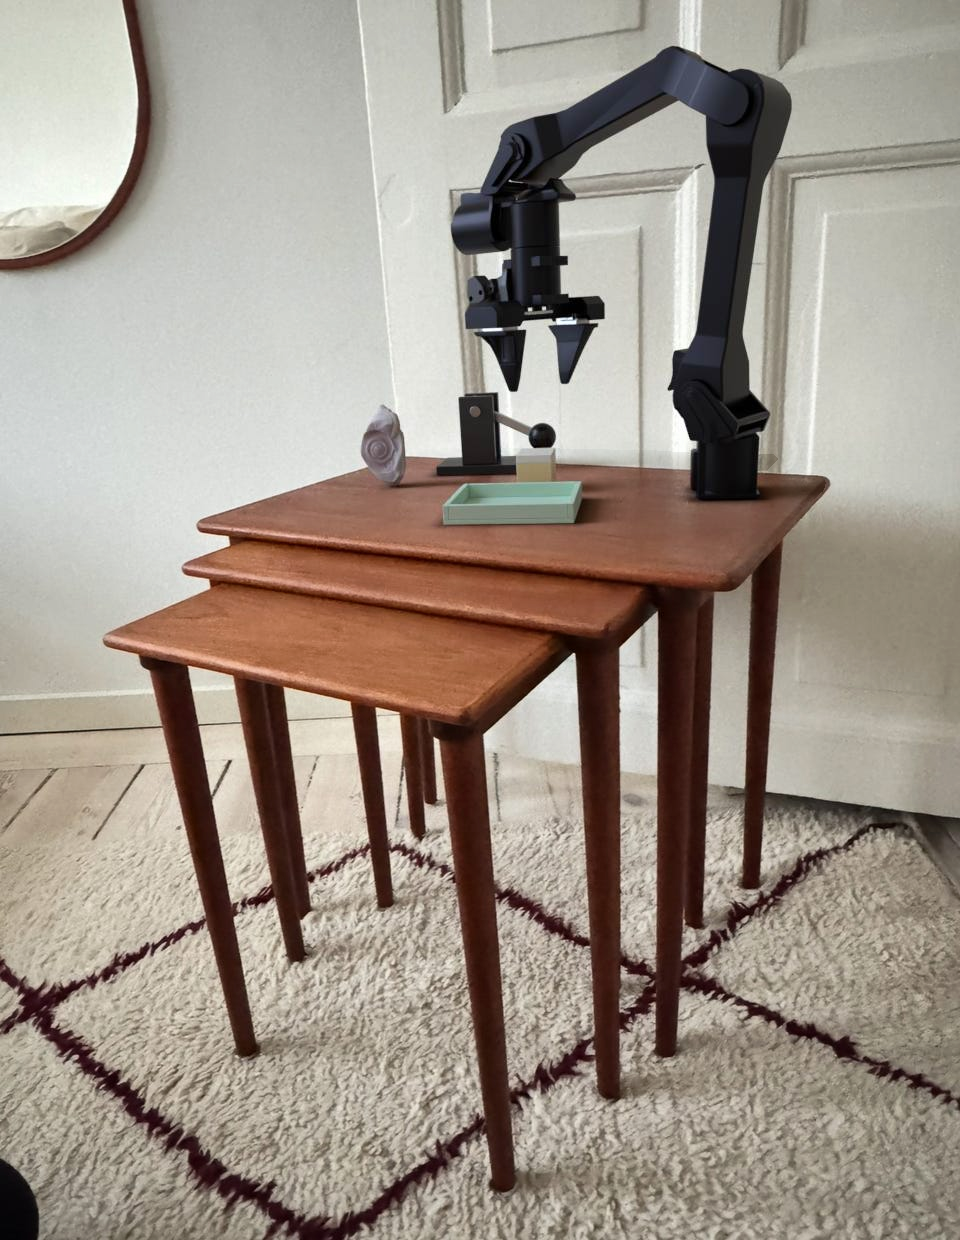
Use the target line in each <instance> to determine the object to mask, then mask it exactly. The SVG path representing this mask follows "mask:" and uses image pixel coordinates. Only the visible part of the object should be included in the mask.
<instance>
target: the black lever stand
mask: <svg viewBox="0 0 960 1240" xmlns="http://www.w3.org/2000/svg"><path fill="white" fill-rule="evenodd" d="M474 395H476V396H474ZM499 399H500V397H499V392H498V391H493V392H468V393H467V392H466V393H464V395H463V396H458V399H457V401H458V413H459V414H458V415H459V431H460V432H459V433H460V445H461V446H460V447H461V448H460V449H461V456H458V457H457V456H455V457H447V458H445V459H444V460H443V461H442V462H441V463H439V464H438V465H436V468H435V469H436V476H437V477H442V476H443V477H444V476H487V475H517V468H516V464H517V463H516V455H502V442H501V423H499V422H496V421H495V420H494V411H496V412H499V413H500V402H499V401H500V400H499Z"/></svg>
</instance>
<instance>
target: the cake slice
mask: <svg viewBox="0 0 960 1240" xmlns="http://www.w3.org/2000/svg"><path fill="white" fill-rule="evenodd" d="M556 451H557V449H556V447H551V448H533V447H532V448H529V447H528V448H526V447H525V448H521V449H520V450H519V451H518V452H517V454H516V455H515V456H516V463H517V464H516V468H517V474H516V483H521V482H557V457H556V454H557V453H556Z"/></svg>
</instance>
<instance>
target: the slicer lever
mask: <svg viewBox="0 0 960 1240" xmlns="http://www.w3.org/2000/svg"><path fill="white" fill-rule="evenodd" d="M474 396H476V395H474ZM494 420H495V421H496V422H499V423H500V425H503V426H506V427H507V428H510V429H512V430H515V431H516V432H519V433H521V434H523V435H526V436H527V437H528V438H527V439H528V442H529V445H530V446H531V447H532V448H553V447H554V445H555V443H556V441H557V433H556V430H555V428H554V427H553V426H552V425H551V424H548V423H546V422H539V423H536V424H534V425H533V426H529V425H527V424H525V423H524V422H521V421H518V420H517V419H514V418H512V417H509V416H507V415H505V414H504V413H501V412H500V411H499V412H496V411H494Z"/></svg>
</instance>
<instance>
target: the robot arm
mask: <svg viewBox="0 0 960 1240" xmlns="http://www.w3.org/2000/svg"><path fill="white" fill-rule="evenodd" d="M677 102H680V103H682V104H683V105H684V106H687V107H688V108H690V109H692V110H694V111H696V112H698V113H699V114H701V115H704V116H705V143H706V151H707V154H708V159H709V162H710V167H711V171H712V174H713V191H712V199H711V209H710V217H709V225H708V233H707V240H706V249H705V256H704V257H705V258H704V263H703V264H704V265H703V274H702V275H703V276H702V282H701V290H700V297H699V304H698V305H699V306H698V314H697V323H696V328H695V329H696V330H695V333H694V336H693V338H692V340H691V342H690V344H689V346H688V348H682V349H681V348H680V349H676V350H674V351H673V353H672V358H671V362H672V363H671V366H672V367H671V368H672V374H671V379H670V383H669V384H668V386H667V391H668V392H670V391H672V405H673V409H674V410H675V411H677V413H678V415H679V416H680V418H682V419H683V423H684V427H685V429H686V432H687V436H688V439H689V440H690V442H696V446H695V447H696V448H691V450H690V467H689V487H690V488H689V489H690V491H692V492H694V496H695V499H697V500H713V499H714V500H717V499H719V500H720V499H721V500H722V499H723V500H725V499H759V498H760V495H761V494H760V491H759V490H758V479H759V475H758V474H759V457H760V435H758V433H762V432H764V431H765V429H766V427H767V424H768V423H769V419H770V417H771V412H770V411H769V409H767V407H766V406H765V405H764V404H763V403H762V401H760V399H758V397H757V396H756V395H755V394H754V393H753V392H752V391H751V390H750V389H751V387H750V384H751V383H750V360H749V355H748V352H747V348H746V344H745V340H744V325H745V317H746V310H747V303H748V295H749V288H750V283H751V275H752V269H753V267H752V266H753V261H754V254H755V248H756V240H757V235H758V234H757V232H758V226H759V219H760V211H761V204H762V198H763V190H764V185H765V182H766V179H767V177H768V175H769V173H770V171H771V170H772V167H773V165H774V164H775V161H776V160H777V157H778V156H779V153H780V152H781V149H782V146H783V143H784V139H785V136H786V133H787V129H788V126H789V123H790V119H791V115H792V109H793V101H792V97H791V93H790V92H789V91H788V89H787V88H786V86H785V85H784V84H783V82H781V81H779V80H777V79H776V78H775V77H772V76H771V77H770V76H768V75H765V74H763V73H760V72H757V71H754V70H751V69H748V68H737V69H733V70H730V71H728V70H726V69H725V68H722V67H720V66H718V65H716V64H714V63H711V62H710V61H708V60H705V59H703V58H702V56H701V55H700V54H699V53H697V52H695V51H692V50H690V49H688V48H684V47H682V46H679V45H678V46H676V45H671V46H668V47H664V49H662V50H661V51H660V52H658V53H657V54H656V56H655V57H653V58H652V59H650V60H648V61H647V62H644V63H643V64H641V65H639V66H638V67H636V68H634V69H633V70H631V71H629V72H628V73H626V74H624V75H623V76H621V77H619V78H617V79H615V80H614V81H612V82H610V83H609V84H607V85H605V86H603V87H602V88H600V89H599V90H597V91H594V92H593V93H591V94H589V95H587V97H584V98H583V99H581V100H579V101H578V102H576V103H575V104H573V105H571V106H570V107H568V108H565V109H563V110H560V111H558V112H553V113H547V114H542V115H541V114H540V115H536V116H532V117H529V118H526V119H523V120H521V121H517V122H514V123H512V124H510V125H508V126H507V127H506V128H505V129H504V130H503V132H502V133H501V134H500V141H499V144H498V149H497V151H496V153H495V155H494V157H493V160H492V162H491V165H490V167H489V170H488V172H487V174H486V177H485V179H484V180H483V183H482V185H481V187H480V190H479V191H480V192H464V193H461V194H460V205H459V206H458V207H456V209H455V210H454V213H453V216H452V222H451V223H450V233H451V239H452V242H453V244H454V246H455V248H456V249H457V251H458V252H460V253H461V254H463V255H465V256H474V255H482V254H493V253H503V252H506V251H509V250H510V258H509V259H503V262H502V264H501V275H500V276H498V277H496V278H490V279H489V278H488V277H487V276H486V275H484V274H483V275H473V276H471V277H470V278H469V279H467V281H466V282H467V283H466V285H467V287H466V295H467V300H468V306H467V308H466V310H465V311H464V326H465V330H480V329H481V330H480V331H473V335H474V336H475V337H478V338H479V337H480V338H481V339H482V340H484V341H485V343H486V344H488V346H490V348H491V350H492V352H493V354H494V356H495V358H496V361H497V364H498V366H499V368H500V371H501V374H502V376H503V379H504V381H505V385H506V387H507V389H508V391H509V392H510V393H517V392H518V391H519V386H520V382H521V377H522V368H523V360H524V352H525V345H526V339H527V338H526V337H527V329H519V327H521V326H522V325H523V322H526V321H527V322H528V321H541V320H551V321H552V322H553V323H555V324H550V325H549V324H548V326H547V327H548V329H549V331H550V332H551V333H552V335H553V336H554V338H555V340H556V355H557V366H558V376H559V383H560V384H561V385H568V384H570V382H571V379H572V377H573V374H574V372H575V370H576V368H577V365H578V364H579V363H578V362H579V360H580V358H581V357H582V354H583V351H584V349H585V348H586V345H587V343H588V342H589V339H590V337H591V336H592V334H593V331H594V330H595V328H599V322H590V321H598V320H600V321H601V320H605V318H606V303H605V302H604V301H603V299H602V298H601V296H600V295H588V296H587V295H586V296H585V295H584V296H569V295H570V294H569V293H562V277H561V276H562V273H561V271H562V270H561V267H563V266H568V265H569V255H561V236H560V235H561V233H560V231H561V230H560V229H561V228H560V203H561V204H562V203H568V202H574V201H575V200H576V199H577V195H576V193H575V192H573V191H572V190H571V189H570V188H568V186H567V185H566V184H565V183H564V181H563V179H562V177H563V176H564V175H566V174H567V173H568V172H570V170H572V169H573V168H574V167H576V166H577V164H578V163H579V161H580V159H581V158H582V156H583V155H584V154H585V153H586V152H588V151H589V150H590V149H591V148H593V147H595V146H597V145H598V144H600V143H602V142H604V141H605V140H608V139H610V138H611V137H613V136H615V135H617V134H619V133H621V132H623V131H624V130H626V129H628V128H630V127H632V126H635V125H636V124H637V123H640V122H641V121H643V120H645V119H647V118H649V117H651V116H653V115H654V114H656V113H658V112H660V111H663V110H664V109H666V108H668V107H670V106H671V105H673V104H675V103H677ZM543 308H545V309H543ZM529 309H531V310H529Z"/></svg>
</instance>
